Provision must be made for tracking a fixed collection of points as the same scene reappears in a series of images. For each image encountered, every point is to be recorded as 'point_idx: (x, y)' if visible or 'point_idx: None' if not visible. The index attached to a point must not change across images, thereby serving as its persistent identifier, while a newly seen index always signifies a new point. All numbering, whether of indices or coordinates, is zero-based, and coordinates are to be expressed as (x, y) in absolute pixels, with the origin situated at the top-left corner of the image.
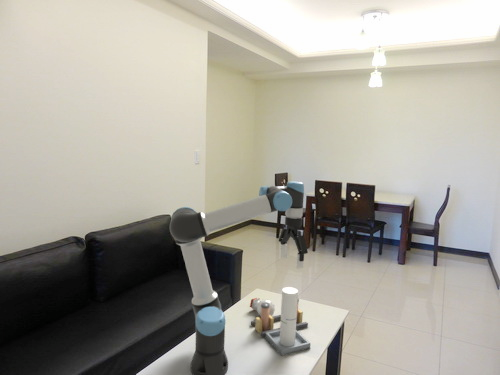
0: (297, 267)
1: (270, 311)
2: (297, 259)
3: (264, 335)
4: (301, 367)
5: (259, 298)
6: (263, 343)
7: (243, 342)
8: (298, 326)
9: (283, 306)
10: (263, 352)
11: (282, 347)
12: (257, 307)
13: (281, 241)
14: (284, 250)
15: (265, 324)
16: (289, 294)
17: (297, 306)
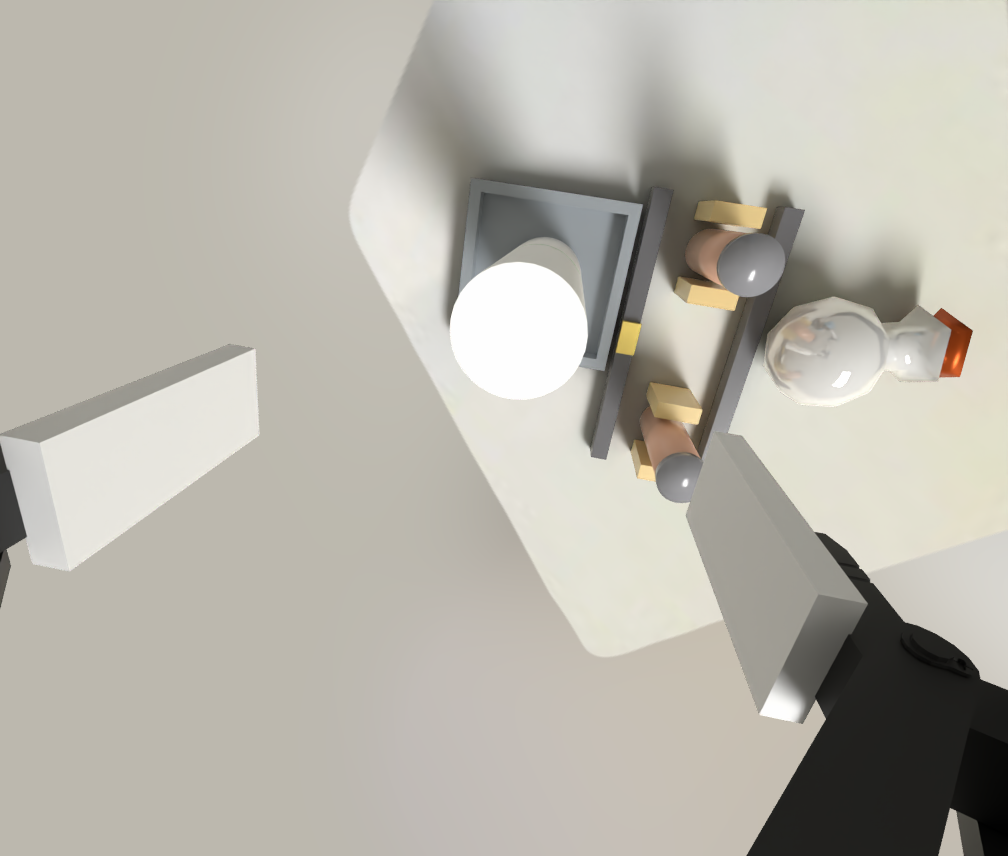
0: (228, 349)
1: (771, 347)
2: (143, 390)
3: (649, 202)
4: (369, 205)
5: (934, 380)
6: (606, 161)
7: (680, 56)
8: (602, 405)
9: (526, 251)
10: (544, 109)
11: (518, 222)
12: (863, 305)
13: (942, 689)
14: (738, 556)
15: (696, 244)
16: (469, 283)
17: (652, 465)
